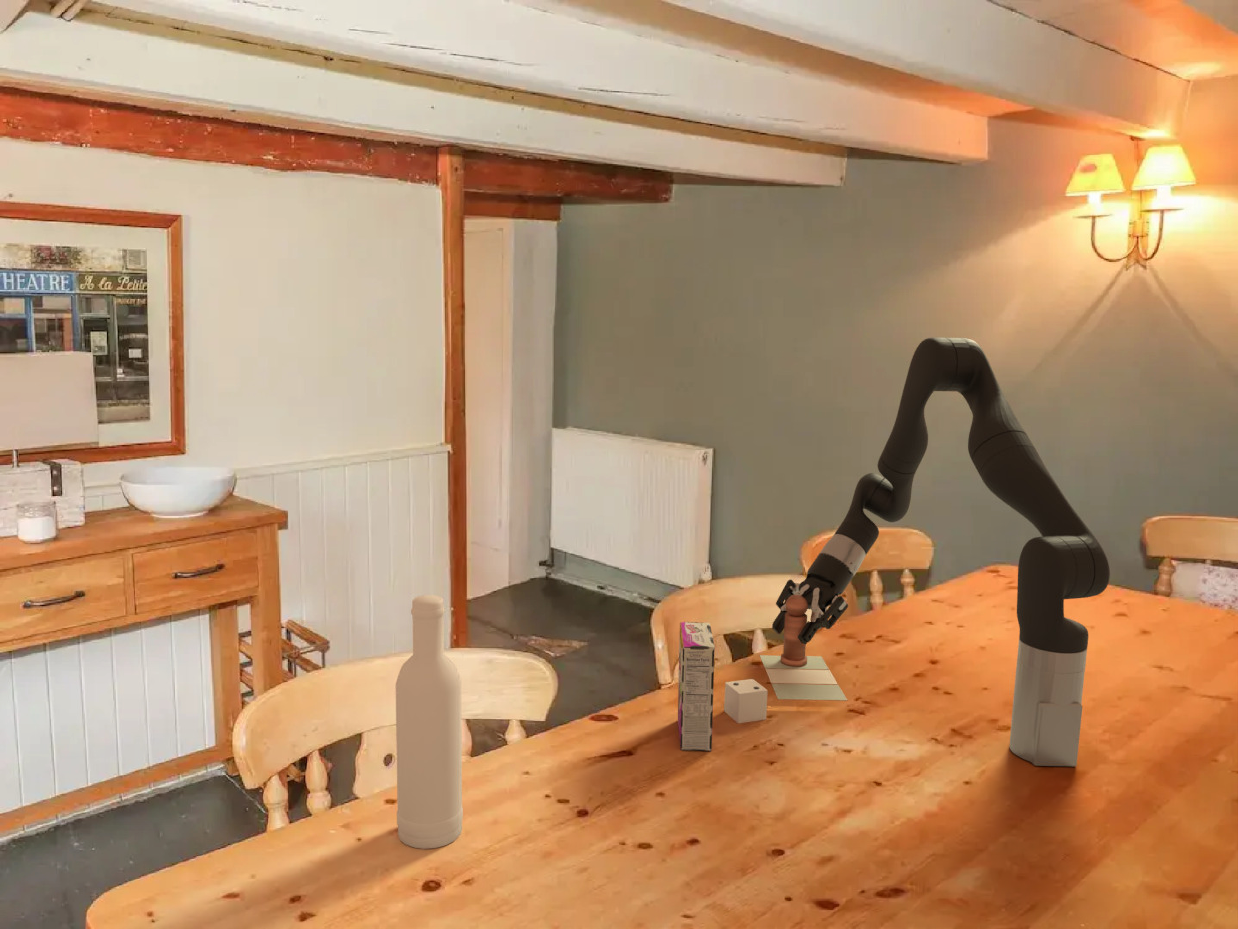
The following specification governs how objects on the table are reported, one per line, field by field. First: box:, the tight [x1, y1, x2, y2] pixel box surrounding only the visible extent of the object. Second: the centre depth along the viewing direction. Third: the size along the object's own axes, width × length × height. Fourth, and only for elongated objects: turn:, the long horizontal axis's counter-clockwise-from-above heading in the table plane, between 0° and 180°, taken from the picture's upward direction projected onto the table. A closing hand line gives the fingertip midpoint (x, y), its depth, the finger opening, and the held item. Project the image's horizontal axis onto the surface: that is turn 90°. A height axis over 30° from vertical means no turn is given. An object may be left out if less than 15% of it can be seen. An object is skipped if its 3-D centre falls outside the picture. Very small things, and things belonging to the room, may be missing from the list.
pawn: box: [780, 595, 809, 667], centre depth 179 cm, size 5×5×13 cm
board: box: [759, 654, 848, 701], centre depth 174 cm, size 22×13×1 cm, turn 0°
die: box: [723, 678, 769, 724], centre depth 158 cm, size 5×5×5 cm
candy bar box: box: [677, 621, 715, 752], centre depth 149 cm, size 11×5×16 cm, turn 179°
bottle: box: [395, 594, 464, 850], centre depth 119 cm, size 8×8×30 cm
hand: (788, 636), depth 179 cm, fingers open, 6 cm apart
